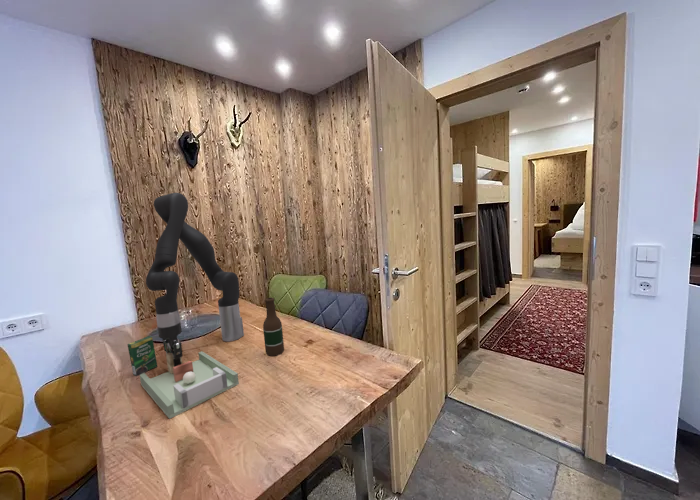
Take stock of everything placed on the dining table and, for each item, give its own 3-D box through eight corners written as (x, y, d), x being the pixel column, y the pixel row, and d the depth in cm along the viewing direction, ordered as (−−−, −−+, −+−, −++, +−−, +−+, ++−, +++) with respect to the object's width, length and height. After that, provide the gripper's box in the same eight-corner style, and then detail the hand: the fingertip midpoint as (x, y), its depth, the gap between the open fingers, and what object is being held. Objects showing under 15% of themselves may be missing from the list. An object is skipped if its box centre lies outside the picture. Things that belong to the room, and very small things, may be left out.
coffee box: (135, 377, 112) (130, 344, 111) (132, 375, 114) (126, 343, 112) (157, 367, 119) (153, 336, 118) (154, 365, 121) (149, 335, 119)
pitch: (203, 360, 123) (202, 351, 122) (238, 384, 103) (237, 373, 102) (141, 385, 106) (139, 374, 106) (169, 419, 86) (167, 406, 86)
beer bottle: (261, 354, 124) (256, 300, 121) (274, 347, 131) (269, 295, 128) (275, 357, 121) (270, 301, 118) (288, 349, 127) (283, 296, 125)
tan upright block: (182, 365, 116) (179, 348, 116) (193, 374, 109) (191, 356, 108) (165, 372, 112) (162, 354, 111) (176, 381, 104) (173, 363, 104)
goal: (218, 380, 104) (216, 367, 104) (227, 386, 100) (225, 373, 99) (175, 400, 94) (173, 385, 93) (183, 408, 89) (181, 393, 89)
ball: (193, 378, 107) (192, 368, 106) (198, 382, 104) (196, 371, 103) (181, 383, 104) (180, 373, 103) (186, 387, 101) (184, 376, 100)
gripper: (186, 323, 109) (192, 366, 111) (173, 316, 118) (178, 355, 120) (164, 330, 103) (170, 374, 105) (151, 322, 113) (157, 363, 115)
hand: (174, 364), depth 113 cm, fingers open, 6 cm apart
